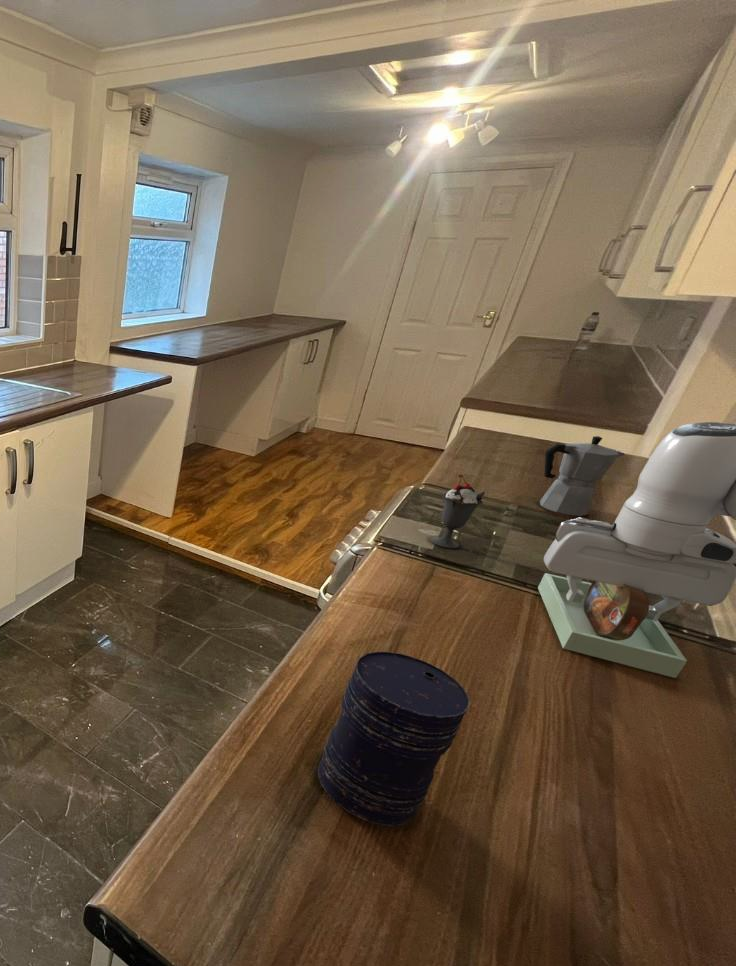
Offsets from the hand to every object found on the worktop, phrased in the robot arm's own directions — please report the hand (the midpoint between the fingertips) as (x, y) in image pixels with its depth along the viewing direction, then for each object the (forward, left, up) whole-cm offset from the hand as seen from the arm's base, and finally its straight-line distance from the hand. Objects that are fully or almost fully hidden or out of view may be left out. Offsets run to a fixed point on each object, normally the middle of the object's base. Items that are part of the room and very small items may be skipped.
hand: (609, 609), depth 92 cm
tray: (0, 0, -4) cm, 4 cm away
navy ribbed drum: (+31, +57, -4) cm, 65 cm away
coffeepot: (-5, -63, -4) cm, 63 cm away
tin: (0, 0, -3) cm, 3 cm away
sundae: (+20, -23, -4) cm, 31 cm away
